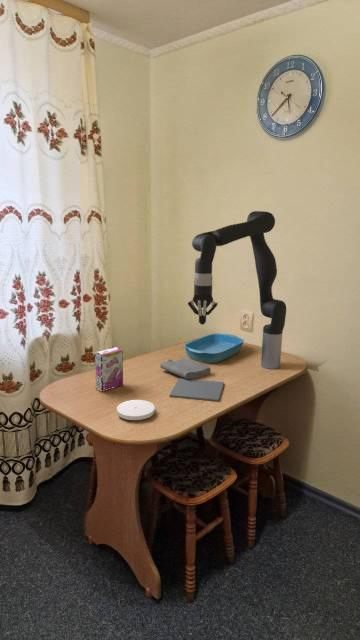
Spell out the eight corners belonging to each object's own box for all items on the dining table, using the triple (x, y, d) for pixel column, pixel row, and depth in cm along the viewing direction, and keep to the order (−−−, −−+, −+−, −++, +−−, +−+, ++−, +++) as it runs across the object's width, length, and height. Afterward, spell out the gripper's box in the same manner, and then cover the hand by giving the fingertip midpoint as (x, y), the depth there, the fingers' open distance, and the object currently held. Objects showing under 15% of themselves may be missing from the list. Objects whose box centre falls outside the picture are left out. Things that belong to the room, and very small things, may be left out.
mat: (179, 379, 194) (179, 378, 194) (223, 383, 190) (223, 382, 190) (169, 396, 176) (169, 395, 176) (218, 401, 172) (218, 399, 172)
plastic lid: (155, 422, 155) (155, 415, 155) (115, 423, 154) (115, 416, 153) (154, 405, 169) (154, 399, 168) (118, 406, 168) (117, 400, 167)
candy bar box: (102, 392, 179) (101, 354, 175) (95, 389, 183) (94, 352, 179) (124, 385, 187) (123, 349, 183) (117, 382, 190) (116, 346, 186)
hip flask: (186, 372, 190) (156, 361, 204) (185, 381, 191) (156, 369, 205) (210, 367, 201) (181, 356, 215) (210, 375, 201) (181, 364, 216)
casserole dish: (212, 368, 209) (213, 354, 207) (176, 359, 222) (176, 345, 220) (249, 350, 237) (250, 338, 235) (215, 342, 250) (216, 331, 248)
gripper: (220, 282, 182) (218, 322, 186) (189, 281, 184) (188, 321, 188) (218, 285, 175) (216, 327, 179) (185, 284, 177) (185, 325, 181)
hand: (202, 324), depth 184 cm, fingers closed
